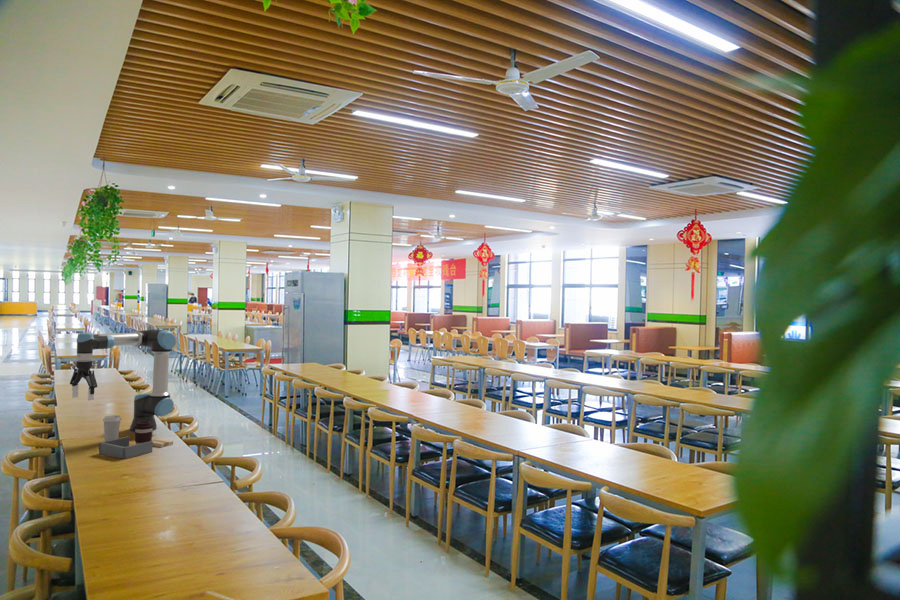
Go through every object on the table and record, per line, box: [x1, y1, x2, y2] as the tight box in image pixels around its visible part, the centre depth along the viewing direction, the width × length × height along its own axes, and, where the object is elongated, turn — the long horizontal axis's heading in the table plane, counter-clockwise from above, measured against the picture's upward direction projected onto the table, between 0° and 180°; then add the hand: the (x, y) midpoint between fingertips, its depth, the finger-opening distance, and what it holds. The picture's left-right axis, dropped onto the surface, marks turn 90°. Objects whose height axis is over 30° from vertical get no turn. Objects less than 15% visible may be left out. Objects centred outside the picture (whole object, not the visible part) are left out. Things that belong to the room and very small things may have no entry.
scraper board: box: [151, 438, 174, 448], centre depth 336 cm, size 8×12×2 cm, turn 66°
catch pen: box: [98, 436, 154, 460], centre depth 317 cm, size 17×20×6 cm
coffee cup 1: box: [102, 414, 122, 442], centre depth 337 cm, size 10×10×15 cm
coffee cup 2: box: [134, 421, 154, 445], centre depth 326 cm, size 10×10×15 cm
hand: (82, 398), depth 321 cm, fingers open, 13 cm apart
